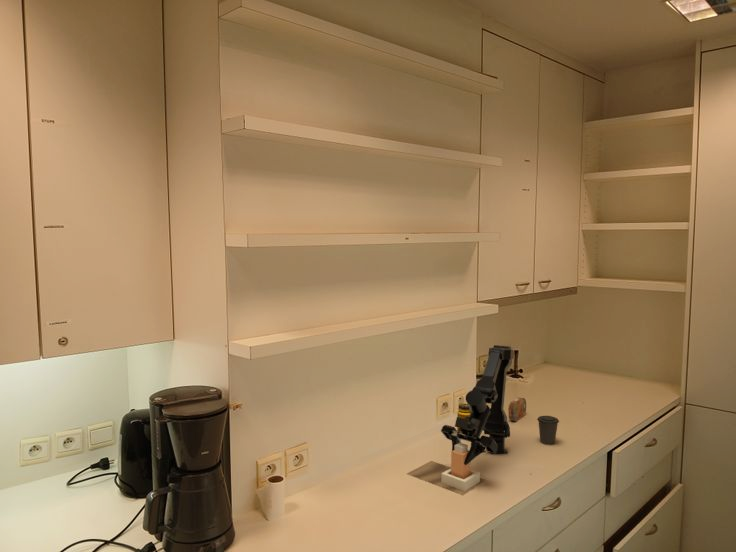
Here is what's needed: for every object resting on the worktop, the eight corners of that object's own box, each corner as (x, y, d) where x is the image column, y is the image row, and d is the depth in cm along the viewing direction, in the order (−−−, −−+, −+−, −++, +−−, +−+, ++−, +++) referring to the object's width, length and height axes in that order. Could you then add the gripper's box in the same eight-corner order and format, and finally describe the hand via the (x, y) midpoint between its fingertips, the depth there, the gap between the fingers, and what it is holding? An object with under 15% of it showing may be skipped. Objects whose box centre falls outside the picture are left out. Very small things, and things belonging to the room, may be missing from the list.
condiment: (457, 437, 214) (457, 407, 213) (454, 429, 222) (454, 401, 222) (475, 437, 214) (476, 407, 213) (471, 429, 222) (472, 401, 222)
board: (406, 477, 179) (406, 473, 178) (431, 464, 189) (431, 460, 189) (462, 499, 164) (462, 495, 164) (486, 483, 174) (486, 479, 174)
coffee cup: (560, 447, 204) (560, 421, 203) (537, 445, 205) (538, 420, 205) (557, 439, 212) (557, 414, 211) (535, 437, 213) (536, 413, 212)
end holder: (441, 482, 172) (441, 473, 172) (456, 473, 179) (456, 464, 178) (464, 491, 166) (465, 481, 166) (479, 481, 173) (479, 472, 172)
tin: (513, 423, 229) (514, 404, 229) (506, 422, 231) (507, 403, 231) (526, 414, 241) (527, 396, 241) (520, 412, 243) (520, 394, 243)
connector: (451, 478, 172) (451, 445, 171) (458, 474, 175) (459, 441, 175) (462, 482, 169) (463, 449, 168) (470, 478, 172) (470, 445, 172)
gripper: (444, 401, 180) (424, 442, 173) (493, 413, 167) (474, 458, 160) (456, 417, 186) (438, 458, 179) (505, 431, 174) (487, 475, 166)
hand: (458, 462), depth 171 cm, fingers closed on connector, 4 cm apart
